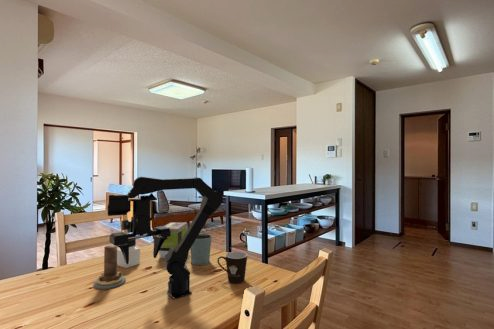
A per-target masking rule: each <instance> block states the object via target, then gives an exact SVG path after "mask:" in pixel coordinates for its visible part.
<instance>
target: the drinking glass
mask: <svg viewBox="0 0 494 329" xmlns="http://www.w3.org/2000/svg"><path fill="white" fill-rule="evenodd" d="M212 237H213V236H212V235H211V234H208V233H199V235H198V237H197V238H196V240H195V242H194V243H193V245H192V247H191V248H190V250H189V251H190V263H191V264H192V265H195V266H203V265H207V264H209V263H210V259H211V255H210V254H211V249H212V247H211V246H212V239H213V238H212Z"/></svg>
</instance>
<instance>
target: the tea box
mask: <svg viewBox="0 0 494 329" xmlns="http://www.w3.org/2000/svg"><path fill="white" fill-rule="evenodd" d="M164 226H165V227H168V228H170V230H171V236H169V237H167V239H166V240H165V241H164V243H163V244H162V246H161V248H160V250H159V252H158V255H159V259H165V255H166V254H167V253H168V251H169V249H170V247H171V246H172V247H173V248H175V247H176V246H177V245H178V244H179V243H180V241H181V240H182V238H183V236H184V235H185V233H186V231H187V230H188V222H168V223H167V224H165V225H164Z"/></svg>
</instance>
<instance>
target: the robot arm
mask: <svg viewBox="0 0 494 329" xmlns="http://www.w3.org/2000/svg"><path fill="white" fill-rule="evenodd" d="M187 189H188V190H190V189H195V190H196V191H197V193H199V195H201V196H202V200H201V201H200V205H199V210H198V211H197V213H196V215H195V217H194V218H193V219H192V221H191V223H190V225H189V226H188V227H187V231H186V233H185V235H184V236H183V238H182V240H181V241H180V243H179V244H178V245H177V246H176V247H175V248H173V247H172V246H171V247H170V249H169V251H168V253H167V254H166V255H165V258H164V266H165V269H166V271H167V274H169V278H168V279H169V280H168V281H167V282H168V283H167V291H166V293H167V294H168V295H169V296H171V297H172V298H173V299H179V298H182V297H184V296H188V295H191V294H192V293H193V291H191V290H190V289H191V288H190V285H191V284H190V282H191V280H190V277H191V276H190V275H191V272H190V270H189V268H188V267H187V265H186V262H187V261H188V260H187V259H188V256H189V251H191V250H190V248H191V247H192V245H193V243H194V242H195V240H196V238H197V237H198V235H199V234H201V231H202V230H203V228H204V226H205V225H206V223H207V222H208V219H209V218H210V217H211V215H213V214H214V213H215V212H216V211H217V210H218V209H219V208H220V207H221V206H222V204H223V202H224V198H223V194H222V193H221V192H220V191H216V190H214V189H213V188H212V187H211V186H210V185H208V184H207V183H206V182H205V181H204V179H202V178H201V177H183V178H182V177H181V178H156V177H149V176H138V177H136V178H135V179H134V180H133V184H132V188H131V189H130V190H129V191H128V192H127V194H108V204H107V216H108V217H113V216H114V217H115V216H127V215H128V214H129V213H130V212H131V210H132V216H131V217H130V219H131V220H130V221H129V219H124V220H121V226H120V227H121V231H120V232H112V233H110V235H109V243H110V244H111V245H115V246H117V248H118V249H121V251H122V254H123V256H124V259H125V262H126V264H128V263H129V244H127V242H128V240H131V239H136V240H137V239H142V238H148V237H149V238H150V237H152V239H153V253H152V254H153V258H154V259H157V256H158V255H159V250H160V248H161V246H162V244H163V243H164V241H165V240H166V239H167V237H169V236H171V230H170V228H168V227H165V225H161V226H156V227H154V228H153V229H152V228H151V227H152V221H153V217H152V201H158V198H157V197H156V196H155V195H154V194H153V193H156V192H160V191H165V190H167V191H168V190H169V191H170V190H187ZM147 194H148V195H147ZM138 196H139V198H136V197H138ZM131 202H132V204H131ZM131 206H132V209H131ZM124 231H126V232H127V233H125V232H124Z"/></svg>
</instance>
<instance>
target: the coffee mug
mask: <svg viewBox="0 0 494 329" xmlns="http://www.w3.org/2000/svg"><path fill="white" fill-rule="evenodd" d="M220 259H224V260H225V263H226V268H225V267H224V266H222V265H221V263H220ZM247 260H248V253H246V252H244V251H231V252H226V253H225V256H219V257H218V258H217V260H216V261H217V264H218V266H219V267H220V268H221V269H222V270H223V271H224V272H226V274H227V282H228V283H230V284H234V285H238V284H243V283H244V282H245V278H246V269H247Z"/></svg>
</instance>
